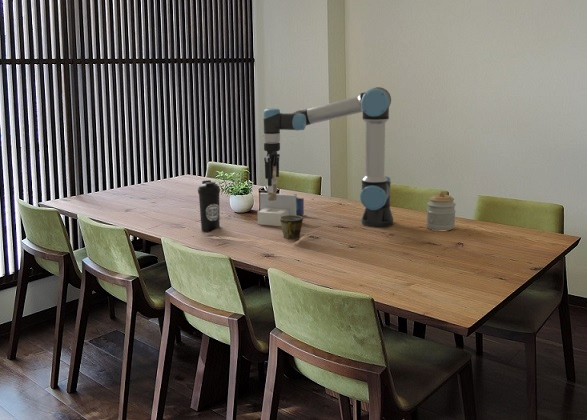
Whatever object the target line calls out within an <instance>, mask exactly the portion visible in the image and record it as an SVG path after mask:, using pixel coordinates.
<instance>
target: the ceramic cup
mask: <svg viewBox="0 0 587 420" xmlns="http://www.w3.org/2000/svg"><path fill="white" fill-rule="evenodd" d="M280 221H281V226H280V227H281V229H282V235H283V238H284V239H288V240H294V241H293V242H298V241H299V240H300V237H301V236H300V235H301V231H302V230H301V229H302V227H303V226H302V225H303V221H304V217H303V216H299V215H287V216H282V217H281V218H280ZM295 239H296V240H295Z"/></svg>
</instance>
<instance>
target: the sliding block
mask: <svg viewBox="0 0 587 420" xmlns="http://www.w3.org/2000/svg"><path fill="white" fill-rule="evenodd" d="M287 215H289V209H279V208H264V209H262V210H258V211H257V225H260V226H261V225H262V226H275V227H282V226H281V221H280V218H281V217H282V216H287Z"/></svg>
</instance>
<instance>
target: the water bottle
mask: <svg viewBox="0 0 587 420" xmlns="http://www.w3.org/2000/svg"><path fill="white" fill-rule="evenodd" d="M201 183H202V184H201V185H199V187H198V188H197V193H198V201H199V214H200V226H201V232H203V233H211V232H213V231H215V230H217V229H220V228H221V226H220V224H221V223H220V222H221V221H220V220H221V219H220V218H221V217H220V215H221V214H220V194H221V187H220V186H219V185H218V184H216V181H212V180H207V179H206V180H202V181H201Z"/></svg>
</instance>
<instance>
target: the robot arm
mask: <svg viewBox="0 0 587 420" xmlns="http://www.w3.org/2000/svg"><path fill="white" fill-rule="evenodd" d="M391 104H392V96H391V94H390V92H389V91H388V90H387V89H386V88H383V87H380V86H379V87H378V86H377V87H373V88H370V89H368V90H367V91H365V92H361V93H359V95H357V96H355V97H348V98H346V99H342V100H338V101H334V102H329V103H324V104H320V105H317V106H313V107H309V108H305V109H302V110H301V109H300V110H296V111H295V112H294V111H293V112H291V113H282V112H281V111H280V109H279V108H265V109H264V110H263V119H262V120H263V141H264V143H263V150H264V151H265V152H266V157H264V160H263V162H264V178H265V179H266V180H267V182H266V183H267V188H266V189H267V193H273V179H272V178H273V166H276V192H277V191H278V178H279V177H280V154H279V153H278V152H279V151H281V143H280V142H281V131H283V130H284V131H297V132H298V131H304V130H305V129H306V127H307V126H309V125H315V124H318V123H322V122H326V121H331V120H334V119H339V118H343V117H347V116H352V115H355V114H360V113H362V120H363V122H365V156H364V157H365V159H364V160H365V162H364V163H365V165H364V166H365V169H364V173H365V174H364V176H363V178H361V191H360V195H359V198H360V202H361V204H362V206H363V207H364V212H363V213H362V216H361V224H362V225H364V226H366V227H371V226H374V227H373V228H384V227H383V226H386V227H390V225H391V226H393V225H394V217H393V214H392V211H391V184H392V182H391V177H390V176H387V175H386V176H385V157H386V156H385V155H386V154H385V153H386V152H385V150H386V147H385V145H386V123H387V122H388V121H389V119H390V116H389V115H390V106H391ZM392 224H393V225H392Z"/></svg>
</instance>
